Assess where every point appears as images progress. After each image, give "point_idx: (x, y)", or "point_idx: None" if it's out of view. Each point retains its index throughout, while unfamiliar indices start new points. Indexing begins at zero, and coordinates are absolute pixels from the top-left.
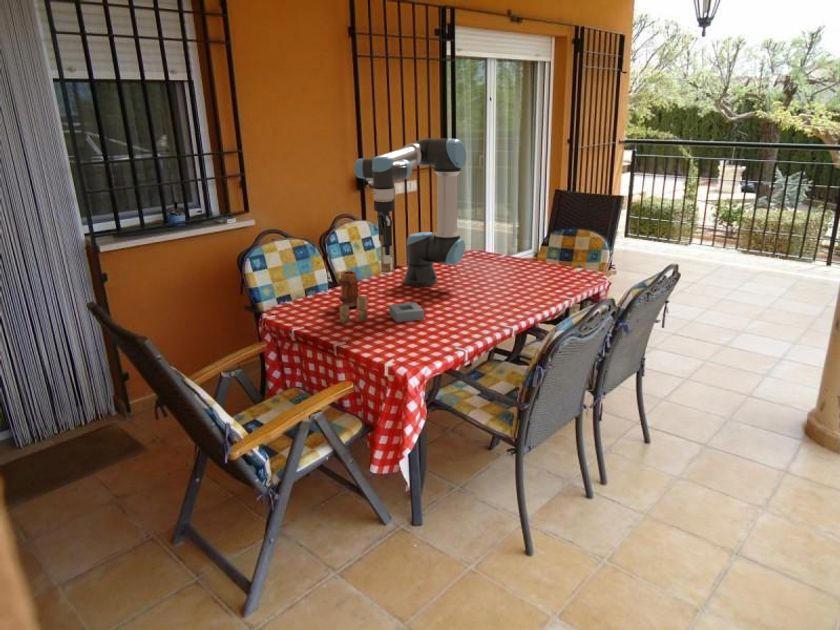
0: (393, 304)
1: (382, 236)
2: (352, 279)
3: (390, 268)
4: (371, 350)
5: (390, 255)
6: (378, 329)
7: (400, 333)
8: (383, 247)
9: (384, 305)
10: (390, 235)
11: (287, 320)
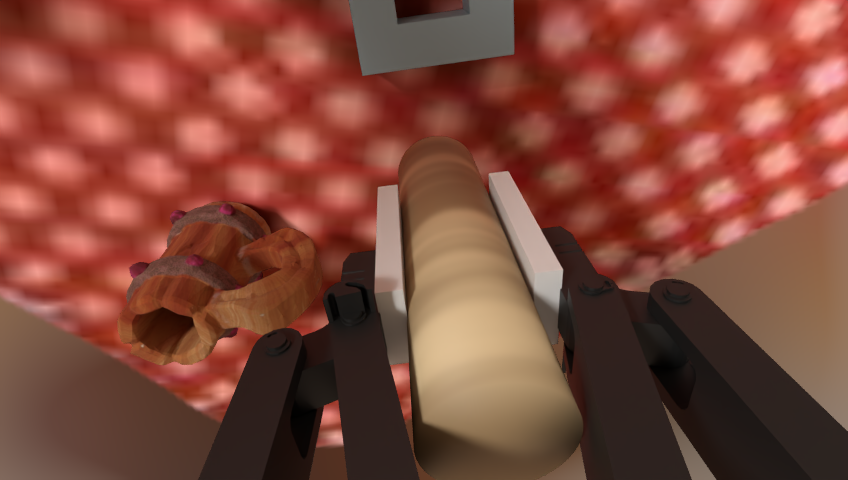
0: (357, 47)
1: (556, 464)
2: (298, 315)
3: (457, 149)
4: (761, 184)
5: (527, 209)
6: (565, 139)
7: (652, 50)
8: (555, 337)
9: (225, 72)
10: (816, 426)
11: None
